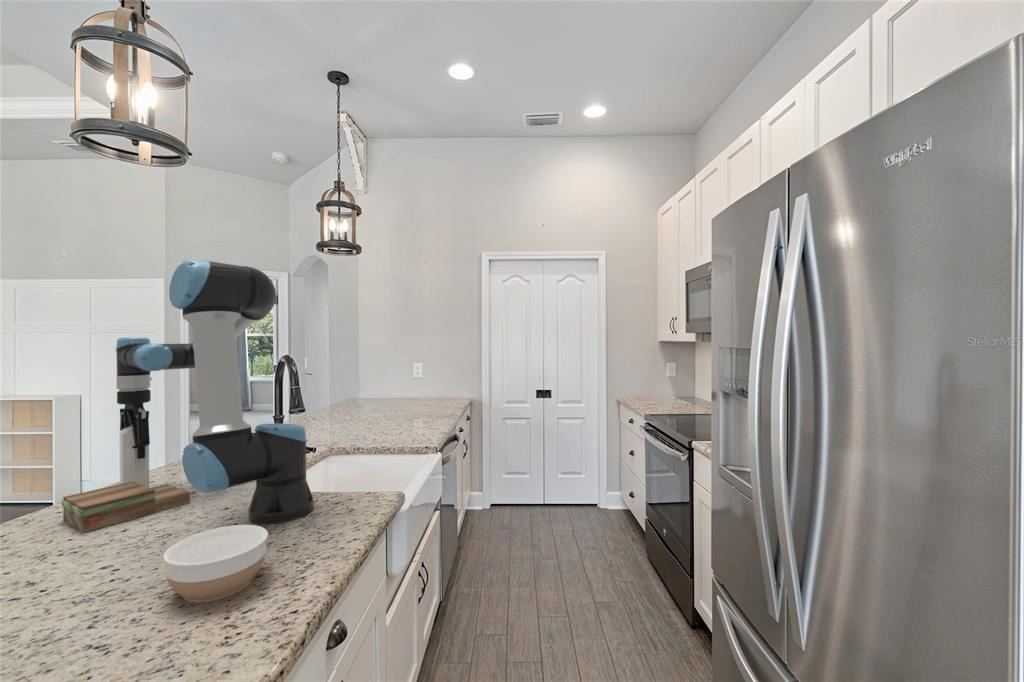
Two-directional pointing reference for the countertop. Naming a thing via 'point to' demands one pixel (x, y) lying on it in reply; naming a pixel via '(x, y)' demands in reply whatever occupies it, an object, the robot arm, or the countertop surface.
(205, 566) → the bowl
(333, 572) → the countertop surface
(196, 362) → the robot arm
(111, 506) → the stand
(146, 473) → the milk
